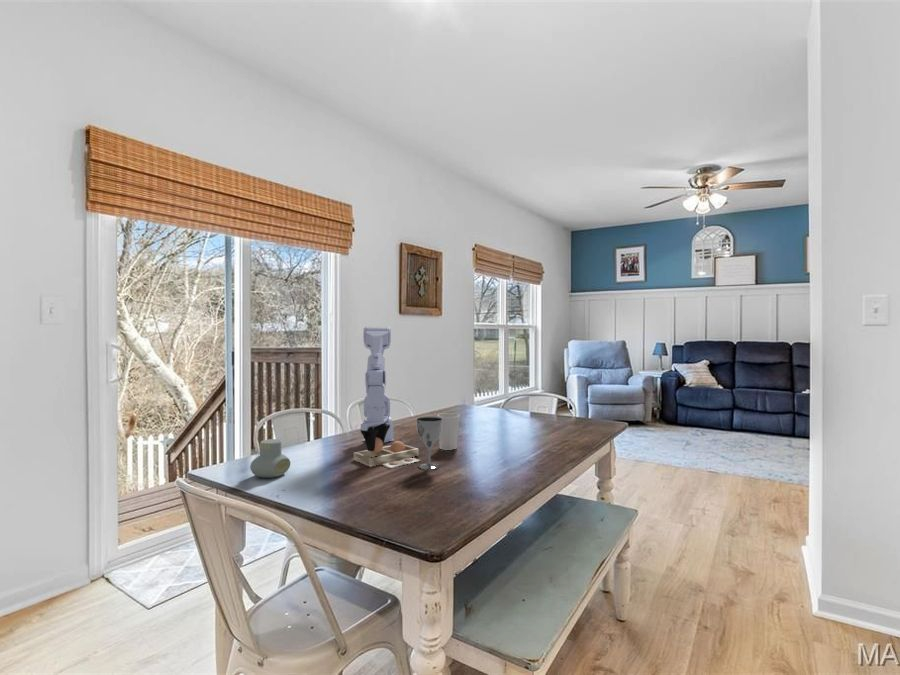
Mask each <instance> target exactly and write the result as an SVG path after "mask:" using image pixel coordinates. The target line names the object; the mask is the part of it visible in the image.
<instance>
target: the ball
mask: <svg viewBox="0 0 900 675" xmlns="http://www.w3.org/2000/svg"><path fill="white" fill-rule="evenodd" d="M390 445H391V447H390V450H391V452H394V453H397V452H401V451H405V445H406V444H405V443H403V441H401V440H394V441H392V443H391V444H390Z"/></svg>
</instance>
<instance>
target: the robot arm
mask: <svg viewBox="0 0 900 675" xmlns="http://www.w3.org/2000/svg"><path fill="white" fill-rule="evenodd" d="M391 332H392V330H391V328H390V326H387V327H386V326H385V327H379V326H377V327H375V326H373V327H372V326H371V327H370V326H368V327H367V326H364V327H363V336H362V337H363V345H364V347H365V348H366V349H368V350H370V355H369V356H368V358H367V368H366V371H365V374H364V376H365V378H364V380H365V381H364V382H365V384H364V385H365V393H366V395H365V397H364V400H363V401H364V402H363V416H364V418H365V419H363V423H360V433H361V434H362V436H363V439H362V442H365V445H366V450H368V451H374V449H375V440H376V437H377V438H380V439H381V440H382V442H383V446H384V444H385V443H388V442H389V441H390V442H395V439H394V421H393V418H392V417H390V416H391V402H390V400H391V399H390V398H391V397H390V396H389V395H388V394H387V393H385V391H386V390H385V388H386V385H387V383H386V382H387V373H386V368H385V367H386V362H385V360H386V358H385V356H384V352H385V350H386V349H389V348H390V346H391ZM390 442H389V443H390Z"/></svg>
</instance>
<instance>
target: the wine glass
mask: <svg viewBox="0 0 900 675" xmlns="http://www.w3.org/2000/svg"><path fill="white" fill-rule="evenodd" d="M416 431H417V435H418V438H419V439H420V441H421V442H422V443H423V444H424V446H425V447H426V451H427V463H423V464H419V465H420V466H419V465H418V466H419V467H420V468H421V469H435V468H437V467H438V465H439V464H437V465H436V463H431V455H432V449H433V446H434V445H435V444H436V442H437V441H439V437H440V435H441V431H442V418H440V417H437V416H421V417H417V418H416ZM421 469H420V470H421Z"/></svg>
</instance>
